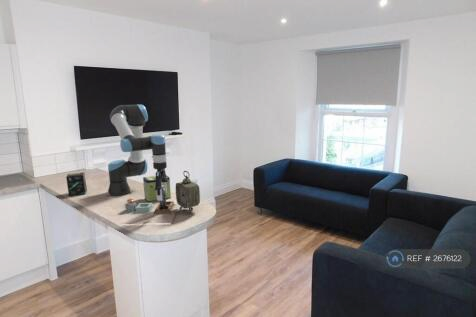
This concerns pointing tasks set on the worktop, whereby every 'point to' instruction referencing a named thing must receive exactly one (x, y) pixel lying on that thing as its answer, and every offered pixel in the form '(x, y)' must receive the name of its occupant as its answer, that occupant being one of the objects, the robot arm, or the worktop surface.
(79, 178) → the tampon box
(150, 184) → the protein box
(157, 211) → the tray
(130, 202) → the release plunger
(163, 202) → the dark grey cylinder
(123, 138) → the robot arm
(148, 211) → the socket block
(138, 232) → the worktop surface
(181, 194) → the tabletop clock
